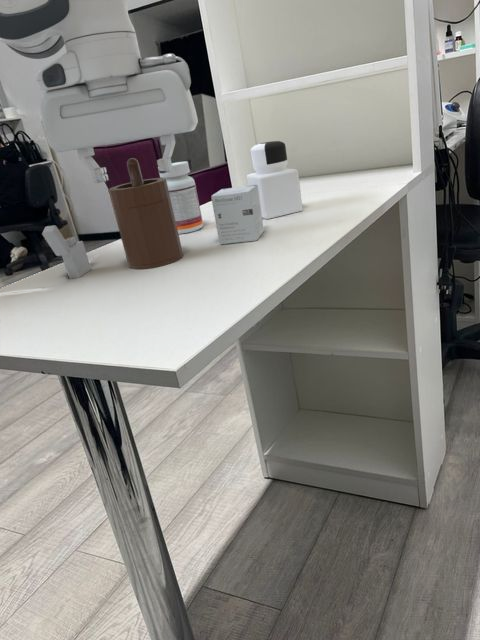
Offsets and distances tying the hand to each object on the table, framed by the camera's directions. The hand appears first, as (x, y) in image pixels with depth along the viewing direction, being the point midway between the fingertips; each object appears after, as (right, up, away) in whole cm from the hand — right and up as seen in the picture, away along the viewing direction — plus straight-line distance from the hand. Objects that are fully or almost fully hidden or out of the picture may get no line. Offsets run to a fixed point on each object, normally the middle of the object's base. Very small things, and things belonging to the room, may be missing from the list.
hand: (133, 177), depth 74 cm
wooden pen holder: (+2, -11, +5) cm, 12 cm away
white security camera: (+20, +1, +23) cm, 31 cm away
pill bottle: (+4, -3, +22) cm, 23 cm away
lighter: (-9, -13, +4) cm, 17 cm away
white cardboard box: (+15, -7, +9) cm, 19 cm away
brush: (+2, -10, +5) cm, 11 cm away
